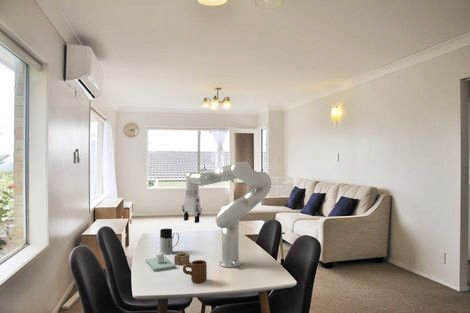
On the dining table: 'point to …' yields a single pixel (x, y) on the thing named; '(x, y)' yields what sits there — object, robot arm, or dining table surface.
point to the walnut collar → (181, 259)
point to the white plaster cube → (160, 258)
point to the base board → (161, 266)
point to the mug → (197, 271)
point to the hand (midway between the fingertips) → (191, 221)
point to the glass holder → (166, 241)
